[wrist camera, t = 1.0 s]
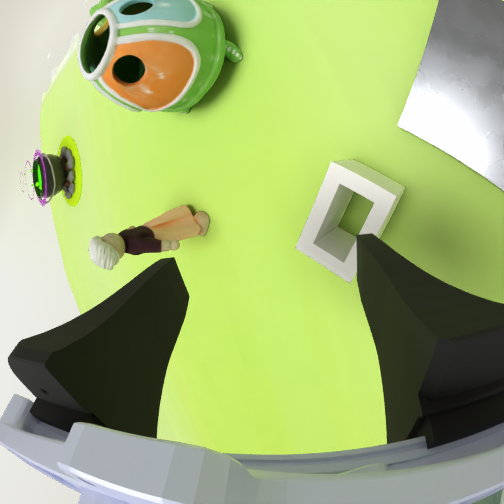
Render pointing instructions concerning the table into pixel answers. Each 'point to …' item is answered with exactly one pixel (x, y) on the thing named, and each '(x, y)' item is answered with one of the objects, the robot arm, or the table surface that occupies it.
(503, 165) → the duct plate
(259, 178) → the table surface
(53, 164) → the toy cauldron
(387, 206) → the duct sleeve
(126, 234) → the grandmother figurine
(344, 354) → the table surface
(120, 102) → the turtle holder
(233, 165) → the table surface
